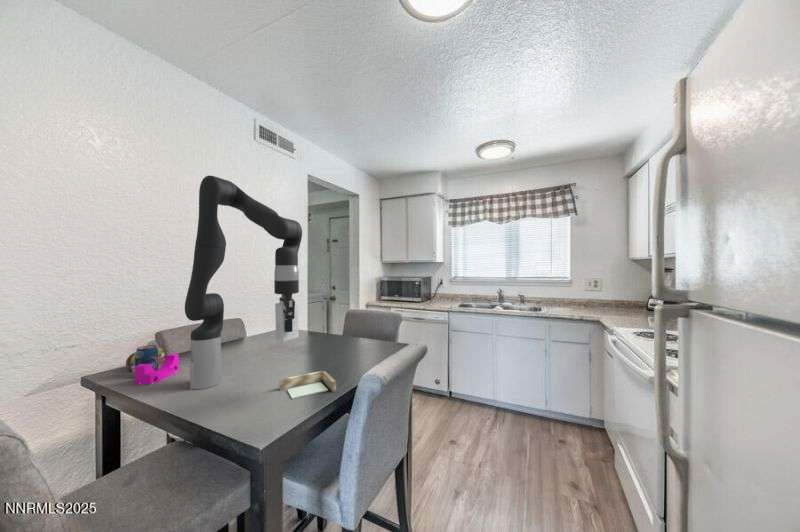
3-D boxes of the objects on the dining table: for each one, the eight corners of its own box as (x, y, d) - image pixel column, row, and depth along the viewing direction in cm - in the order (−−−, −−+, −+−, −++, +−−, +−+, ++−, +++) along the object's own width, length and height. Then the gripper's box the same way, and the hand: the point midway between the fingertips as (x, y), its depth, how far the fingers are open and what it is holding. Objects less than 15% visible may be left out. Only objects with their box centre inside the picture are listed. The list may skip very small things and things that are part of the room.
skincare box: (290, 336, 100) (290, 301, 100) (298, 337, 98) (298, 302, 98) (274, 339, 95) (274, 303, 95) (282, 341, 92) (282, 304, 92)
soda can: (139, 382, 110) (139, 350, 110) (131, 378, 113) (131, 347, 113) (161, 376, 116) (161, 346, 116) (153, 373, 119) (153, 343, 119)
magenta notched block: (150, 387, 106) (150, 366, 106) (134, 386, 106) (134, 366, 106) (184, 372, 121) (184, 354, 121) (170, 371, 121) (170, 353, 121)
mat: (292, 399, 95) (292, 398, 95) (287, 390, 102) (287, 389, 102) (327, 390, 101) (327, 389, 101) (320, 382, 108) (320, 381, 108)
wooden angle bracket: (286, 403, 92) (286, 392, 92) (279, 389, 103) (279, 379, 103) (336, 391, 101) (336, 381, 101) (324, 379, 112) (324, 370, 112)
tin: (130, 375, 117) (130, 354, 117) (124, 375, 117) (124, 354, 117) (166, 363, 132) (166, 344, 132) (161, 362, 132) (161, 344, 132)
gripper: (303, 279, 92) (303, 333, 92) (294, 278, 104) (294, 325, 104) (277, 280, 88) (278, 336, 88) (271, 278, 100) (271, 327, 100)
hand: (286, 329), depth 96 cm, fingers closed on skincare box, 5 cm apart
